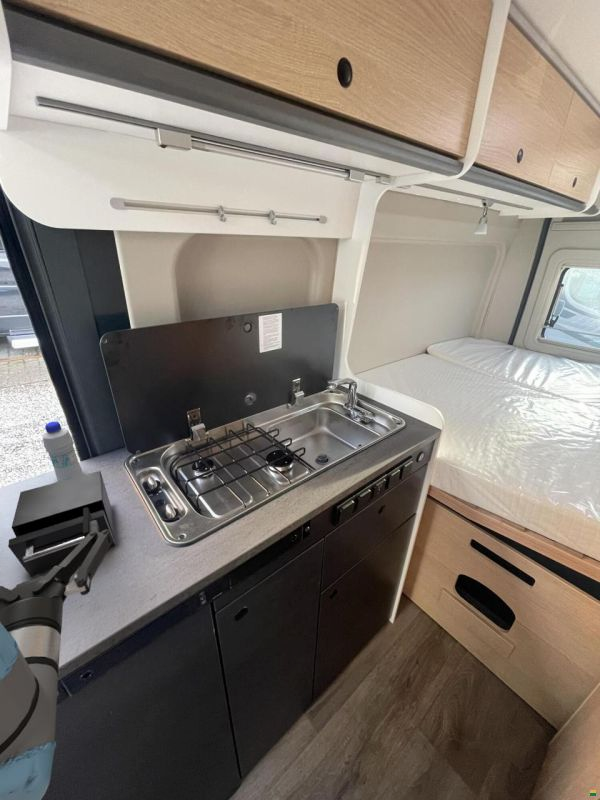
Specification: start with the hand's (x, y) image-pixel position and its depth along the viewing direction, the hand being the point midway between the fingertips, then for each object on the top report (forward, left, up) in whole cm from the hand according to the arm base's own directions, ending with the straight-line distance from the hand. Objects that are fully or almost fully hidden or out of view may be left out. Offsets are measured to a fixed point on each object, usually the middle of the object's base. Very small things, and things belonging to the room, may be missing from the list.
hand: (41, 527), depth 56 cm
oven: (-9, +16, -21) cm, 28 cm away
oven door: (-5, +9, -21) cm, 23 cm away
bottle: (-23, +37, -21) cm, 49 cm away
